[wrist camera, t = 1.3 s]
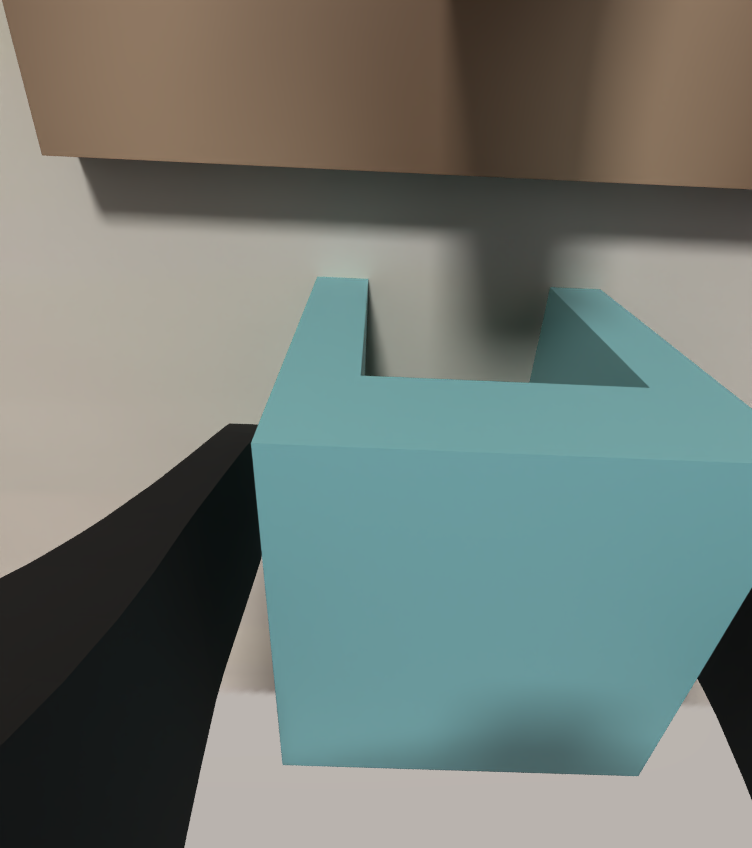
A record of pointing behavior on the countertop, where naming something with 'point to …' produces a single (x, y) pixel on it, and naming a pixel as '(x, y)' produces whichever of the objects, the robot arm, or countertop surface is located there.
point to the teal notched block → (497, 545)
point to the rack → (399, 85)
